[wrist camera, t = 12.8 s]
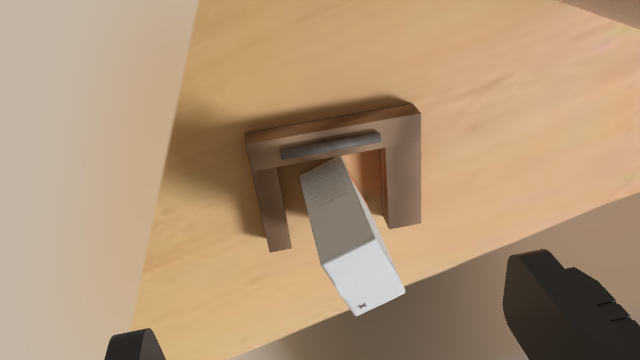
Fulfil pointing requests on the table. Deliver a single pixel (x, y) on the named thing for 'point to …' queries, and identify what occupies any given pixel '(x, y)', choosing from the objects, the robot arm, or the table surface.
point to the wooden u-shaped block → (336, 140)
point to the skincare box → (348, 238)
